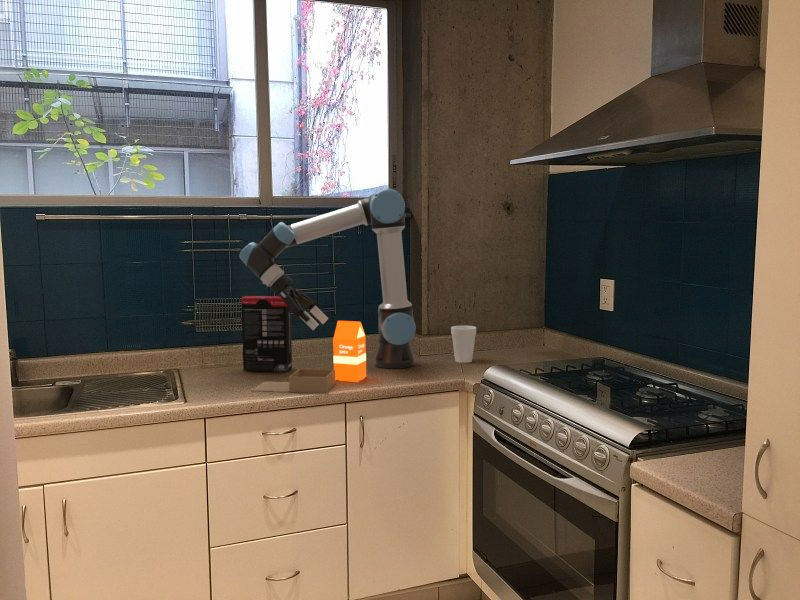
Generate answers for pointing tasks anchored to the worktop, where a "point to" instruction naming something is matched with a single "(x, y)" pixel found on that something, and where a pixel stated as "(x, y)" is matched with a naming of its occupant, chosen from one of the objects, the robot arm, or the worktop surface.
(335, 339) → the orange juice
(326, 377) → the kraft mailer box
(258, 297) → the graphics card box
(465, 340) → the foam cup
